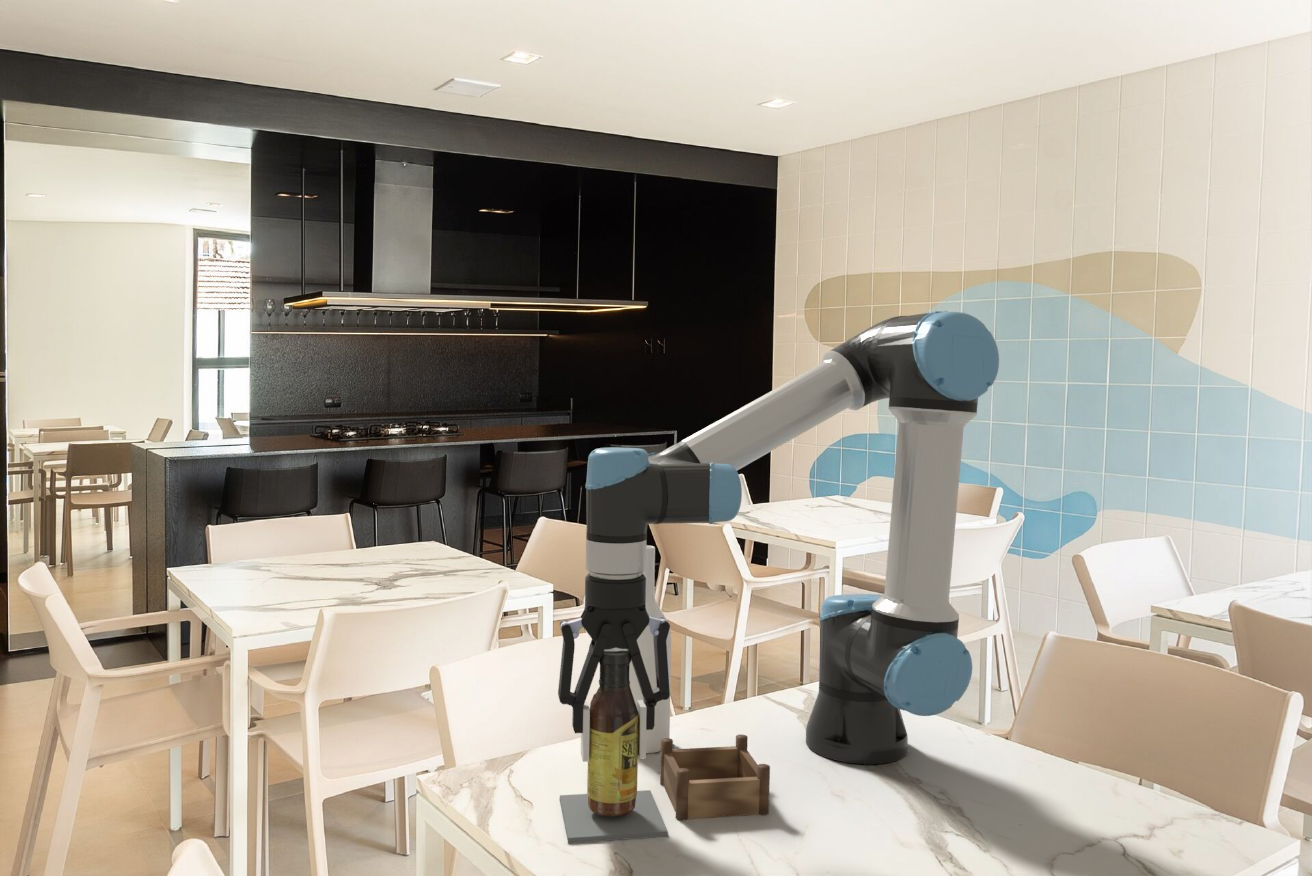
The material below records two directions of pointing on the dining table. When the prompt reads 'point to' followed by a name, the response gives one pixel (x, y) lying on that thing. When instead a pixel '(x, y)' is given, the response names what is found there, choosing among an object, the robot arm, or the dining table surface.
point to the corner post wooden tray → (714, 781)
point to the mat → (611, 820)
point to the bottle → (652, 662)
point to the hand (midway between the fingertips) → (613, 755)
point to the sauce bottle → (613, 739)
